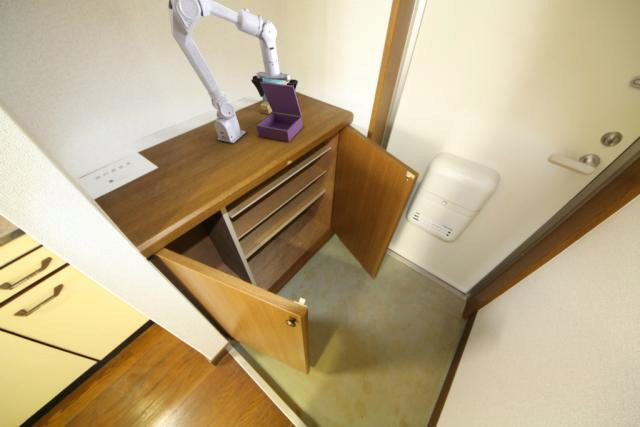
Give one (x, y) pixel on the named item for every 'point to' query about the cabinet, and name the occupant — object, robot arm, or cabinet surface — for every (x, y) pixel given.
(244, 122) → the cabinet surface
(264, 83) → the lid
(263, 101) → the teal flat upright piece
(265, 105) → the block
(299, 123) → the purple flat box
